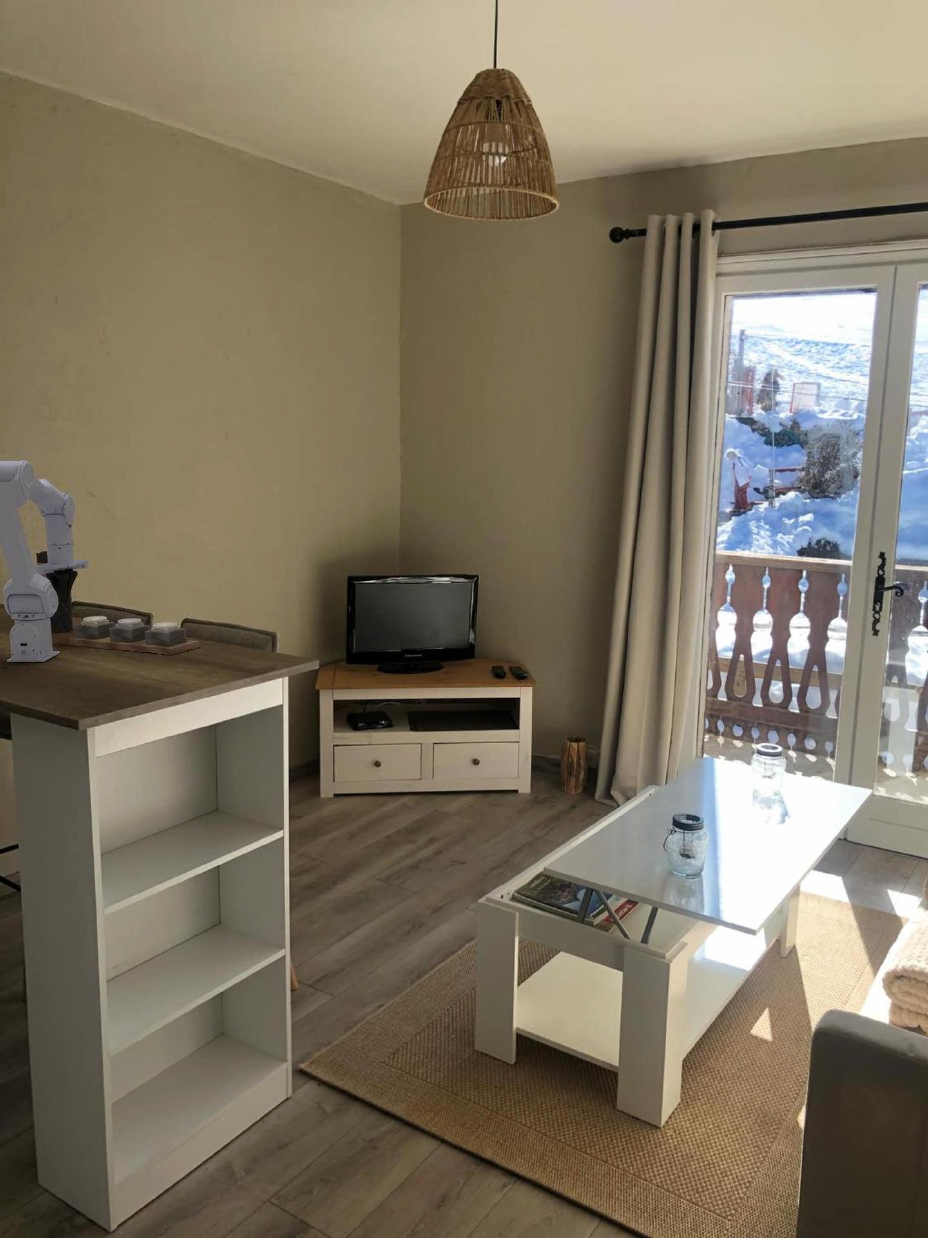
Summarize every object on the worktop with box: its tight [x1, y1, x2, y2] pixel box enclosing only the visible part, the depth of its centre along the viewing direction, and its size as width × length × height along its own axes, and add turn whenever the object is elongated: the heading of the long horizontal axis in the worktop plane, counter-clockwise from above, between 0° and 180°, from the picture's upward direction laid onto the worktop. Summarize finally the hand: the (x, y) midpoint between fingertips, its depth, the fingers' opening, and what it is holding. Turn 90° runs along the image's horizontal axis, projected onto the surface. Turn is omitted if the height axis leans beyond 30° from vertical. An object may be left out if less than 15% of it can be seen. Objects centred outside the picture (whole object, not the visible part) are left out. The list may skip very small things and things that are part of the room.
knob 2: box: [116, 617, 145, 629], centre depth 236 cm, size 5×5×4 cm
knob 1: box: [80, 615, 110, 626], centre depth 240 cm, size 5×5×4 cm
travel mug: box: [35, 550, 73, 634], centre depth 256 cm, size 8×8×20 cm
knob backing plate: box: [62, 621, 201, 656], centre depth 236 cm, size 32×10×4 cm, turn 66°
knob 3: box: [150, 621, 181, 633], centre depth 232 cm, size 5×5×4 cm
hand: (63, 601), depth 239 cm, fingers closed
